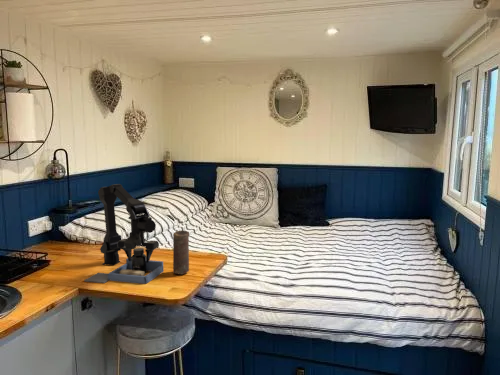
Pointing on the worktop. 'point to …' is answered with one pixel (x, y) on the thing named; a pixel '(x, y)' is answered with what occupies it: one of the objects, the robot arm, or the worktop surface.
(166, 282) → the worktop surface
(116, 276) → the blue-grey rectangular tray
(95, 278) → the mat
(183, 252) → the candle
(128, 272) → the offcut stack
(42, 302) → the worktop surface
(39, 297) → the worktop surface
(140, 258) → the supplement bottle
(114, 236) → the robot arm
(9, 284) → the worktop surface
